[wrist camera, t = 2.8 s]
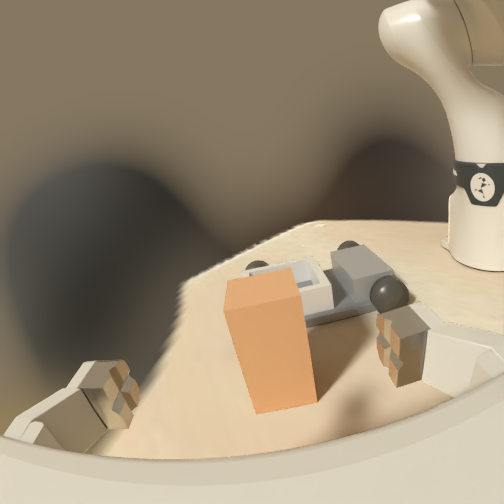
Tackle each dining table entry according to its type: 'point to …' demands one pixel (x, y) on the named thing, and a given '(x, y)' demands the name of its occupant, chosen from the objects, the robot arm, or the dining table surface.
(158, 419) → the dining table surface
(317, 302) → the chassis
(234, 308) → the block
